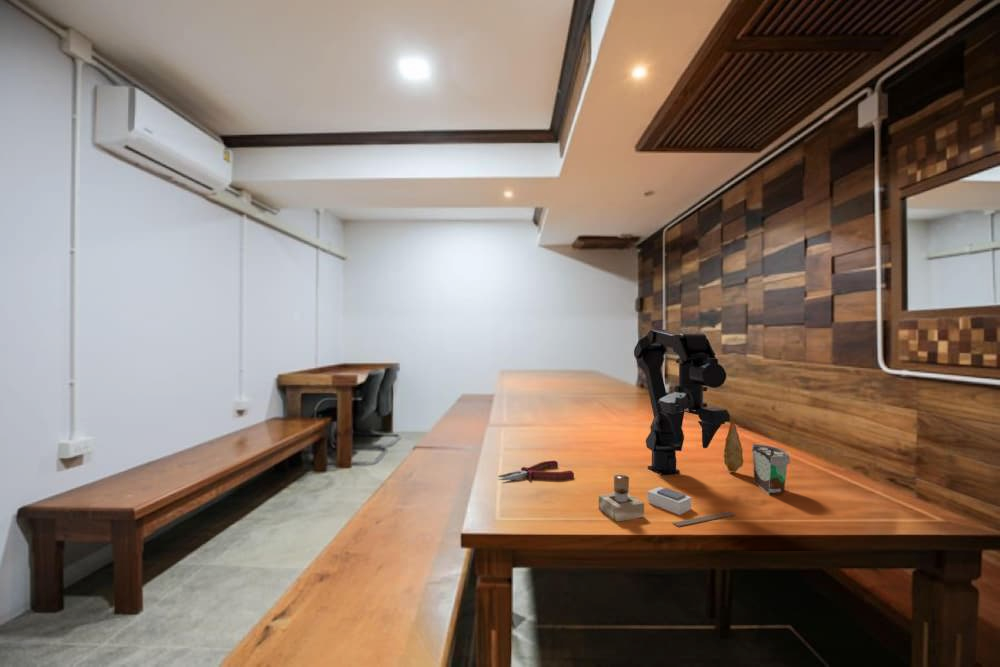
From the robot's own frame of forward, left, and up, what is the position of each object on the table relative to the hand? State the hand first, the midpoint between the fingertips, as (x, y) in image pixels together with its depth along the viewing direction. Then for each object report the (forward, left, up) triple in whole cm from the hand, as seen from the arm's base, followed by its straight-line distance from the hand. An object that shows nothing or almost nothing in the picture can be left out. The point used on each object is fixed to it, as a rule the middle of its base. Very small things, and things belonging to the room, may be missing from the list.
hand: (690, 443), depth 106 cm
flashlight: (+5, -25, -12) cm, 28 cm away
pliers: (-24, -32, -13) cm, 42 cm away
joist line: (+14, -10, -12) cm, 21 cm away
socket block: (+5, -25, -12) cm, 28 cm away
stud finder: (+6, -12, -12) cm, 18 cm away
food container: (+7, +21, -12) cm, 25 cm away
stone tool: (-6, +22, -12) cm, 26 cm away
